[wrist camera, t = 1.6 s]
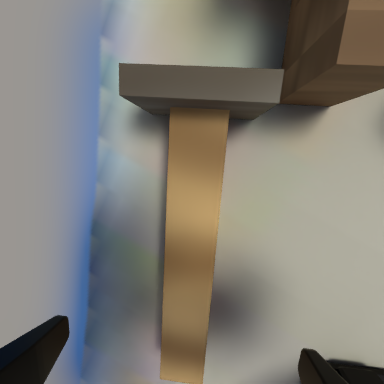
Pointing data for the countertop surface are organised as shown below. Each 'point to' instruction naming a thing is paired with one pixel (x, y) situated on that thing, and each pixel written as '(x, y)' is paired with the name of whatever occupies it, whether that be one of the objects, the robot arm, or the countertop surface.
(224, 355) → the countertop surface
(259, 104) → the hammer
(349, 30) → the walnut box
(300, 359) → the robot arm
